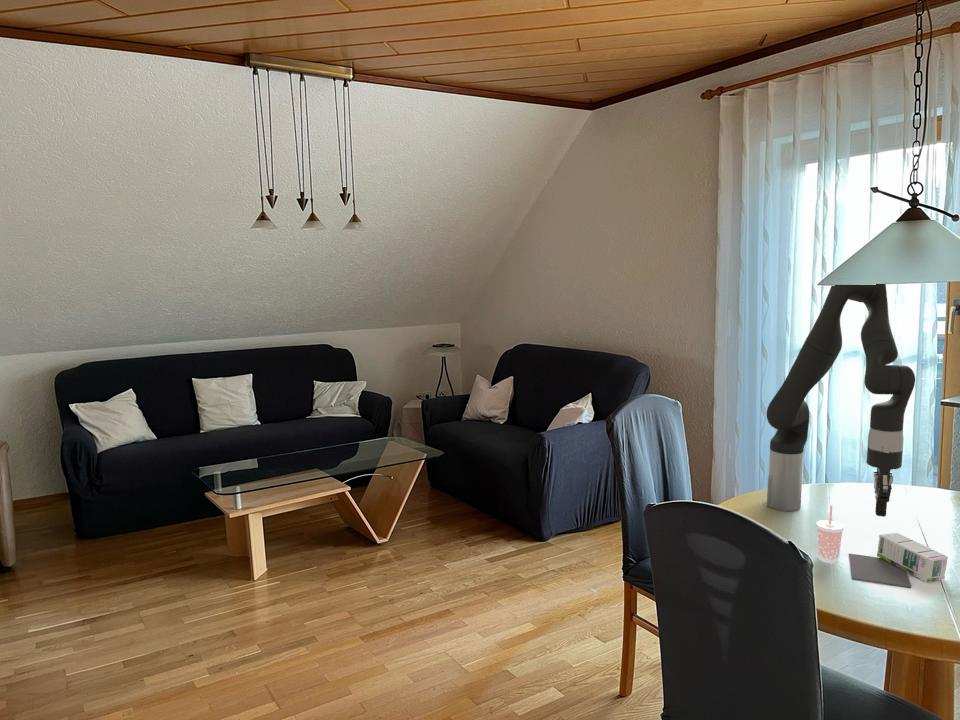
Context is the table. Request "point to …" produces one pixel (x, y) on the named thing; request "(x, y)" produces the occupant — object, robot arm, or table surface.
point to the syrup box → (912, 557)
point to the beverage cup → (829, 539)
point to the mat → (877, 571)
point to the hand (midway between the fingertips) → (880, 515)
